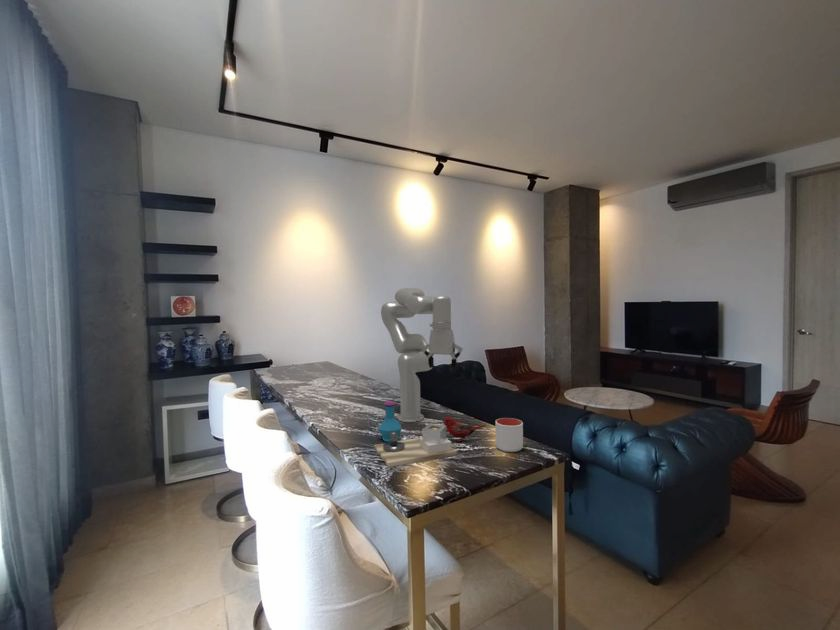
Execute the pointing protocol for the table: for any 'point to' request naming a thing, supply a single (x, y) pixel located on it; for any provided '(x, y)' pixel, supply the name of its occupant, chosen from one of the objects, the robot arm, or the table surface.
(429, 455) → the board
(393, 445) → the rod stand
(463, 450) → the table surface
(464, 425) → the decorative bird figurine
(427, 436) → the steel collar
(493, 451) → the table surface
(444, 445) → the block
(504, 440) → the cup
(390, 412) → the perfume bottle
